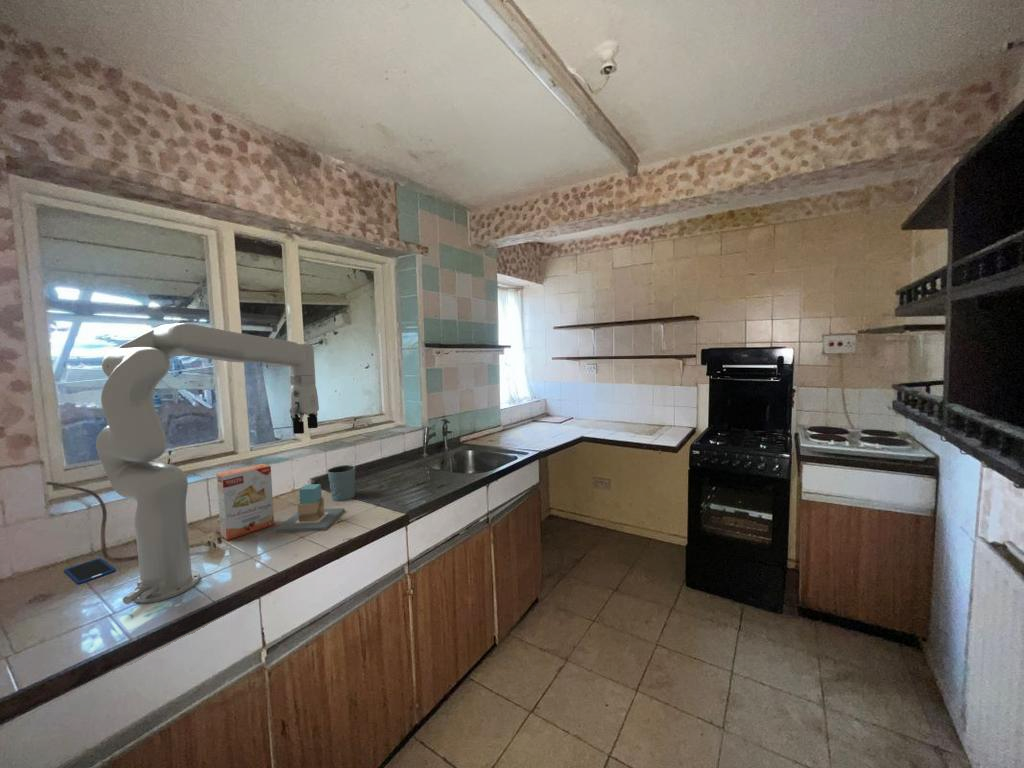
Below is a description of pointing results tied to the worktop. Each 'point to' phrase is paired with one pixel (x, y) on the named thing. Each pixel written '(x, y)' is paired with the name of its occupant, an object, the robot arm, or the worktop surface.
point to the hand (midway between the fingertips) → (306, 430)
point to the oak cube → (311, 511)
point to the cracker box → (245, 500)
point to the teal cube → (310, 493)
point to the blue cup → (342, 482)
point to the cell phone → (89, 570)
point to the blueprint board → (311, 522)
